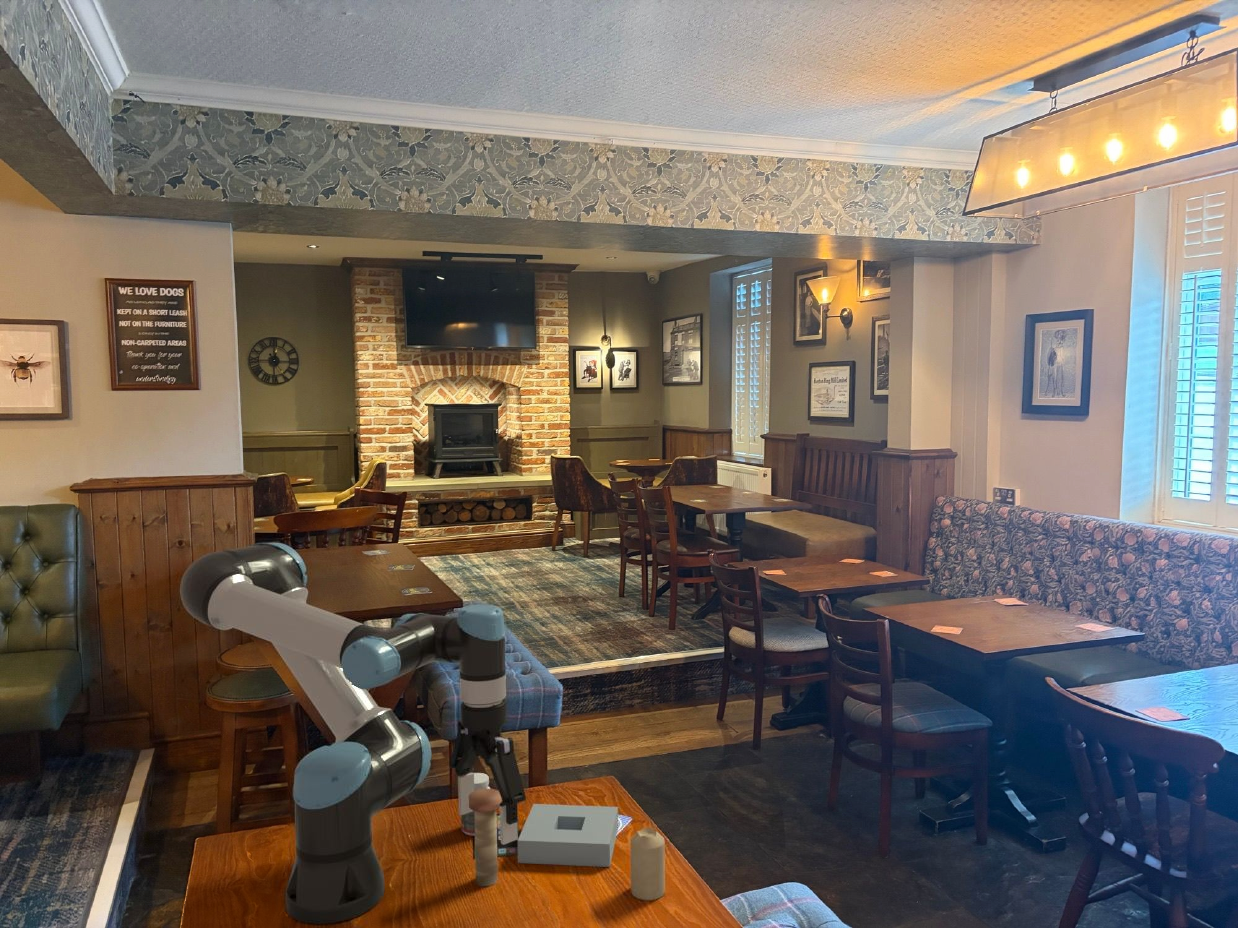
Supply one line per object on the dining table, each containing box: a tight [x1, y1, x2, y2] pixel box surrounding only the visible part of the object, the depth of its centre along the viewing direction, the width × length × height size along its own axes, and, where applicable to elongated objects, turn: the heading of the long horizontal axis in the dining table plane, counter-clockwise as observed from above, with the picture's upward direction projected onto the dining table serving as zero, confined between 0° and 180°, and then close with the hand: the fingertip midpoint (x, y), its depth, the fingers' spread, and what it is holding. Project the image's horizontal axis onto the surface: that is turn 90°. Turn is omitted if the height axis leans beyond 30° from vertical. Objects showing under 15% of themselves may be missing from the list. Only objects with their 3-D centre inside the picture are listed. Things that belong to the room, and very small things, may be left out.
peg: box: [469, 788, 502, 888], centre depth 143 cm, size 5×5×14 cm
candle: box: [630, 827, 666, 901], centre depth 140 cm, size 6×6×10 cm
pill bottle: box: [460, 772, 491, 837], centre depth 161 cm, size 6×6×10 cm
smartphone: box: [473, 813, 520, 860], centre depth 159 cm, size 8×15×1 cm, turn 9°
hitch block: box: [517, 803, 619, 868], centre depth 155 cm, size 16×14×4 cm
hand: (487, 826), depth 143 cm, fingers open, 13 cm apart
